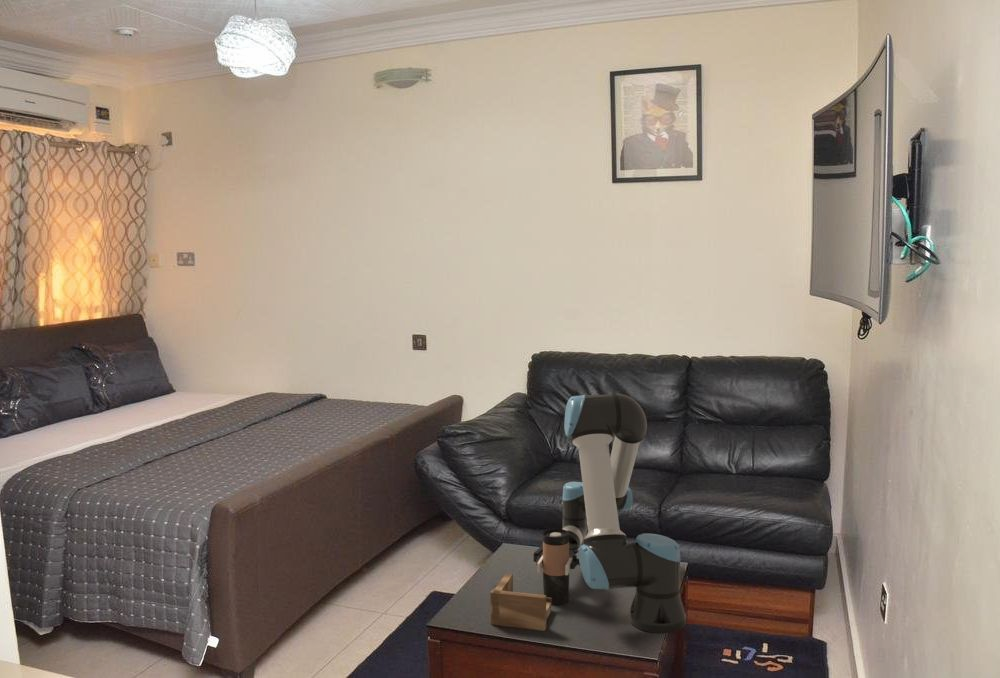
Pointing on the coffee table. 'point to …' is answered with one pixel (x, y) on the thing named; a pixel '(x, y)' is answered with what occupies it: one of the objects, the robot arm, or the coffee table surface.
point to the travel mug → (556, 565)
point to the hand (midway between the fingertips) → (552, 569)
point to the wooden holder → (518, 607)
